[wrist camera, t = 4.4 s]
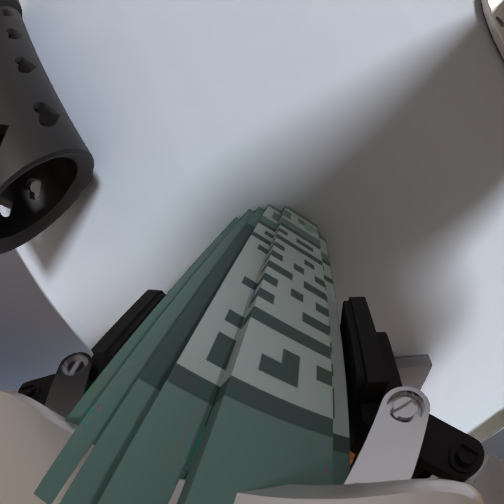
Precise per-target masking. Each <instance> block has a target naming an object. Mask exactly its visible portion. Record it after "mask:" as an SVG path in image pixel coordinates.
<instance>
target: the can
mask: <svg viewBox="0 0 504 504" xmlns="http://www.w3.org/2000/svg"><path fill="white" fill-rule="evenodd" d="M65 421H68V422H71V423H74V424H77V425H79V426H78V427H77V429H76V430H75V432H74V433H73V434H72V436H71V437H70V439H69V440H68V442H67V443H66V445H65V446H64V448H63V449H62V450H61V452H60V453H59V455H58V456H57V458H56V459H55V461H54V462H53V464H52V465H51V467H50V468H49V470H48V471H47V473H46V475H45V476H44V478H43V479H42V481H41V482H40V484H39V485H38V487H37V489H36V490H35V492H34V493H33V494H35V495H36V496H37V497H38V498H40V499H41V500H42V501H44V502H45V503H46V504H52V503H53V501H54V500H55V498H56V497H57V495H58V493H59V492H60V490H61V489H62V487H63V486H64V485H65V483H66V482H67V480H68V479H69V477H70V476H71V474H72V473H73V471H74V470H75V468H76V467H77V466H78V464H79V463H80V461H81V460H82V458H83V457H84V455H85V454H86V453H87V451H88V450H89V448H90V447H91V445H92V444H93V445H95V446H94V448H93V449H92V451H91V452H90V454H89V456H88V457H87V459H86V460H85V462H84V464H83V465H82V467H81V468H80V470H79V472H78V473H77V475H76V477H75V478H74V480H73V482H72V483H71V485H70V486H69V488H68V490H67V491H66V493H65V495H64V497H63V498H62V500H61V502H60V503H59V504H168V503H169V501H170V499H171V497H172V495H173V492H174V490H175V488H176V486H177V484H178V482H179V479H185V483H184V486H183V488H182V491H181V494H180V496H179V499H178V501H177V504H234V501H235V498H236V495H237V493H238V492H245V491H251V490H258V489H264V488H271V487H277V486H282V485H288V484H295V485H343V484H344V482H345V480H346V479H347V477H348V475H349V473H350V438H349V417H348V401H347V388H346V377H345V367H344V357H343V348H342V340H341V332H340V325H339V318H338V311H337V304H336V298H335V291H334V285H333V279H332V274H331V268H330V263H329V257H328V252H327V247H326V242H325V239H324V238H322V237H321V236H319V235H318V229H317V225H315V224H314V223H312V222H310V221H309V220H307V219H306V218H304V217H303V216H301V215H299V214H298V213H296V212H295V211H293V210H291V209H290V208H288V207H287V206H286V207H285V208H284V210H283V211H282V212H281V211H279V210H278V209H276V208H274V207H273V206H271V205H269V206H268V207H267V209H266V210H264V209H262V208H261V207H259V208H258V209H257V210H256V212H253V211H252V210H250V209H249V210H248V211H247V212H246V213H245V214H244V216H243V217H242V218H241V219H238V218H237V217H236V218H235V219H234V220H233V221H232V222H231V223H230V224H229V225H228V226H227V228H226V229H225V230H224V231H223V232H222V233H221V234H220V235H219V236H218V237H217V238H216V240H215V241H214V242H213V243H212V244H211V245H210V246H209V247H208V248H207V249H206V251H205V252H204V253H203V254H202V255H201V256H200V257H199V258H198V259H197V261H196V262H195V263H194V264H193V265H192V266H191V267H190V268H189V269H188V271H187V272H186V273H185V274H184V275H183V276H182V277H181V279H180V280H179V281H178V282H177V283H176V284H175V285H174V286H173V288H172V289H171V290H170V291H169V292H168V293H167V295H166V296H165V297H164V298H163V299H162V300H161V301H160V303H159V304H158V305H157V306H156V307H155V308H154V310H153V311H152V312H151V313H150V314H149V315H148V317H147V318H146V319H145V320H144V321H143V323H142V324H141V325H140V326H139V327H138V329H137V330H136V331H135V332H134V333H133V335H132V336H131V337H130V338H129V339H128V341H127V342H126V343H125V344H124V345H123V347H122V348H121V349H120V350H119V352H118V353H117V354H116V355H115V356H114V358H113V359H112V360H111V361H110V363H109V364H108V365H107V366H106V368H105V369H104V370H103V371H102V373H101V374H100V375H99V376H98V378H97V379H96V380H95V381H94V383H93V384H92V385H91V387H90V388H89V389H88V390H87V392H86V393H85V394H84V396H83V397H82V398H81V400H80V401H79V402H78V403H77V405H76V406H75V407H74V409H73V410H72V411H71V413H70V414H69V415H68V417H67V418H66V419H65Z"/></svg>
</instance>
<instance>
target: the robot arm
mask: <svg viewBox="0 0 504 504" xmlns="http://www.w3.org/2000/svg"><path fill="white" fill-rule="evenodd" d="M481 2H482V7H483V12H484V15H485V18H486V21H487V24H488V27H489V29H490V31H491V34H492V36H493V39H494V41H495V43H496V45H497V47H498V49H499V51H500V54H501V56H502V57H503V59H504V0H481ZM165 296H166V294H164V293H163V291H161V290H147V291H146V292H145V293H144V294H143V295H142V296H141V297H140V298H139V299H138V300H137V301H136V302H135V303H134V305H133V306H132V307H131V308H130V309H129V310H128V311H127V312H126V313H125V314H124V315H123V316H122V317H121V318H120V319H119V320H118V321H117V322H116V323H115V324H114V325H113V326H112V328H111V329H110V330H109V331H108V332H107V333H106V334H105V335H104V336H103V337H102V338H101V339H100V340H99V342H98V343H97V344H96V345H95V346H94V347H93V348H92V349H91V350H92V352H93V354H94V355H93V357H92V358H91V357H90V356H89V355H88V354H86V353H82V352H78V353H73V354H71V355H69V356H67V357H66V358H65V359H64V360H63V361H62V362H61V364H60V365H59V367H58V370H57V373H56V374H53V375H49V376H46V377H43V378H39V379H35V380H31V381H29V382H26V383H24V384H23V385H22V386H21V387H20V389H19V390H15V391H9V390H2V389H1V390H0V504H46V503H45V502H44V501H42V500H41V499H40V498H38V497H37V496H36V495H35V494H33V493H34V492H35V490H36V489H37V487H38V485H39V484H40V482H41V481H42V479H43V478H44V476H45V475H46V473H47V471H48V470H49V468H50V467H51V465H52V464H53V462H54V461H55V459H56V458H57V456H58V455H59V453H60V452H61V450H62V449H63V448H64V446H65V445H66V443H67V442H68V440H69V439H70V437H71V436H72V434H73V433H74V432H75V430H76V429H77V427H78V426H79V425H77V424H74V423H71V422H68V421H65V419H66V418H67V417H68V415H69V414H70V413H71V411H72V410H73V409H74V407H75V406H76V405H77V403H78V402H79V401H80V400H81V398H82V397H83V396H84V394H85V393H86V392H87V390H88V389H89V388H90V387H91V385H92V384H93V383H94V381H95V380H96V379H97V378H98V376H99V375H100V374H101V373H102V371H103V370H104V369H105V368H106V366H107V365H108V364H109V363H110V361H111V360H112V359H113V358H114V356H115V355H116V354H117V353H118V352H119V350H120V349H121V348H122V347H123V345H124V344H125V343H126V342H127V341H128V339H129V338H130V337H131V336H132V335H133V333H134V332H135V331H136V330H137V329H138V327H139V326H140V325H141V324H142V323H143V321H144V320H145V319H146V318H147V317H148V315H149V314H150V313H151V312H152V311H153V310H154V308H155V307H156V306H157V305H158V304H159V303H160V301H161V300H162V299H163V298H164V297H165ZM340 332H341V340H342V348H343V357H344V367H345V377H346V388H347V401H348V417H349V438H350V451H351V452H352V453H354V454H355V456H354V458H353V460H352V462H351V464H350V473H349V475H348V477H347V479H346V480H345V482H344V484H343V485H295V484H288V485H282V486H277V487H271V488H264V489H258V490H251V491H245V492H238V493H237V495H236V498H235V501H234V504H504V461H503V460H501V459H500V458H498V457H496V456H494V455H492V454H490V455H489V456H486V455H484V450H483V447H482V445H481V443H480V442H479V441H478V440H476V439H475V438H473V437H472V436H470V435H468V434H466V433H464V432H462V431H460V430H458V429H456V428H454V427H453V426H451V425H449V424H447V423H445V422H443V421H441V420H440V419H438V418H436V417H434V416H432V415H431V414H429V412H430V403H429V401H428V398H427V397H426V396H425V394H424V393H423V392H421V391H420V390H418V389H416V388H413V387H406V386H402V382H401V379H400V375H399V371H398V368H397V365H396V361H395V358H394V355H393V352H392V348H391V345H390V342H389V339H388V336H387V334H386V333H385V332H376V331H375V327H374V324H373V321H372V317H371V314H370V311H369V308H368V305H367V302H366V299H365V297H349V300H348V301H344V302H343V308H342V316H341V324H340ZM94 446H95V445H93V444H92V445H91V447H90V448H89V450H88V451H87V453H86V454H85V455H84V457H83V458H82V460H81V461H80V463H79V464H78V466H77V467H76V468H75V470H74V471H73V473H72V474H71V476H70V477H69V479H68V480H67V482H66V483H65V485H64V486H63V487H62V489H61V490H60V492H59V493H58V495H57V497H56V498H55V500H54V501H53V503H52V504H59V503H60V502H61V500H62V498H63V497H64V495H65V493H66V491H67V490H68V488H69V486H70V485H71V483H72V482H73V480H74V478H75V477H76V475H77V473H78V472H79V470H80V468H81V467H82V465H83V464H84V462H85V460H86V459H87V457H88V456H89V454H90V452H91V451H92V449H93V448H94ZM184 483H185V479H179V482H178V484H177V486H176V488H175V490H174V492H173V495H172V497H171V499H170V501H169V503H168V504H177V501H178V499H179V496H180V494H181V491H182V488H183V486H184Z"/></svg>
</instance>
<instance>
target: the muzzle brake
mask: <svg viewBox="0 0 504 504" xmlns="http://www.w3.org/2000/svg"><path fill="white" fill-rule="evenodd" d="M93 168H94V159H93V157H92V155H91V153H90V152H89V150H88V148H87V147H86V145H85V143H84V142H83V140H82V138H81V137H80V135H79V133H78V132H77V130H76V128H75V127H74V125H73V123H72V121H71V120H70V118H69V116H68V114H67V113H66V111H65V109H64V107H63V105H62V103H61V102H60V100H59V98H58V96H57V94H56V92H55V90H54V88H53V86H52V84H51V82H50V80H49V78H48V76H47V74H46V72H45V70H44V68H43V66H42V64H41V62H40V60H39V57H38V55H37V53H36V51H35V49H34V46H33V44H32V42H31V39H30V37H29V34H28V32H27V30H26V27H25V24H24V22H23V19H22V9H21V6H20V3H19V0H0V205H3V206H5V207H7V208H9V209H11V211H10V216H8V217H3V216H2V215H1V213H0V254H2V253H5V252H8V251H11V250H12V249H15V248H17V247H19V246H21V245H22V244H24V243H26V242H28V241H29V240H31V239H32V238H34V237H35V236H37V235H38V234H39V233H41V232H42V231H43V230H45V229H46V228H47V227H48V226H50V225H51V224H52V223H53V222H54V221H55V220H57V219H58V218H59V217H60V216H61V215H62V214H63V213H64V212H65V211H66V210H67V209H68V208H69V207H70V206H71V205H72V204H73V202H74V201H75V200H76V199H77V198H78V196H79V195H80V193H81V192H82V190H83V189H84V188H85V186H86V185H87V183H88V182H89V180H90V178H91V175H92V172H93ZM33 181H38V182H41V190H40V195H39V197H38V199H36V200H35V197H34V192H32V191H31V190H30V185H31V183H32V182H33Z"/></svg>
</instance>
